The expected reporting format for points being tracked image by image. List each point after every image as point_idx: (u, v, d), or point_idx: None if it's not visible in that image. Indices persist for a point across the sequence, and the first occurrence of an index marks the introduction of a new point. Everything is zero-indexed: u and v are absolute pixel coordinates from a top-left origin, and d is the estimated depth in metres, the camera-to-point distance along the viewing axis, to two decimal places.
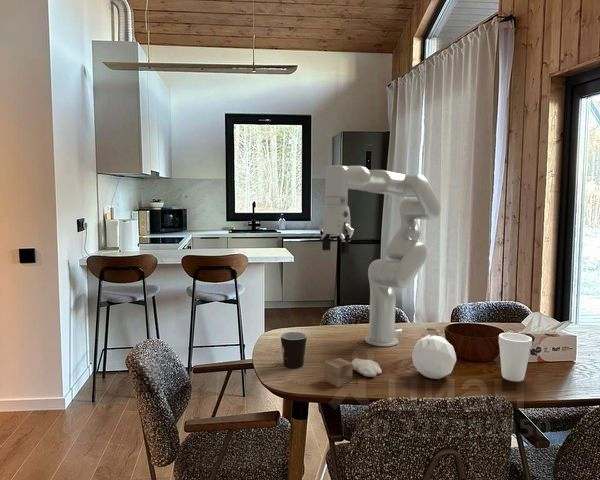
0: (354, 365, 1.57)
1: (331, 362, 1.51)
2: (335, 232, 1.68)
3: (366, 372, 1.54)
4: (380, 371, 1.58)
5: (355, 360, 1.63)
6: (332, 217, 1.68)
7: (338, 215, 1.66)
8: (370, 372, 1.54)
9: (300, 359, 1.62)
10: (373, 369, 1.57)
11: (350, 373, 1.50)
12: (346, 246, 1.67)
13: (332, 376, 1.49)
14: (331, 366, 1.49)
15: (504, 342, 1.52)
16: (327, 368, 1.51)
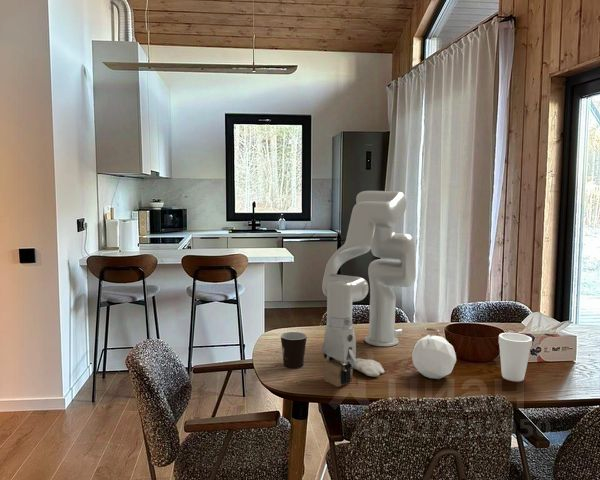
0: (357, 365, 1.57)
1: (331, 362, 1.51)
2: (338, 357, 1.47)
3: (369, 372, 1.54)
4: (383, 371, 1.58)
5: (357, 360, 1.63)
6: (335, 340, 1.48)
7: (342, 340, 1.45)
8: (373, 372, 1.54)
9: (300, 359, 1.62)
10: (376, 369, 1.57)
11: (350, 373, 1.50)
12: (347, 375, 1.48)
13: (332, 376, 1.49)
14: (331, 366, 1.49)
15: (504, 342, 1.52)
16: (327, 368, 1.51)
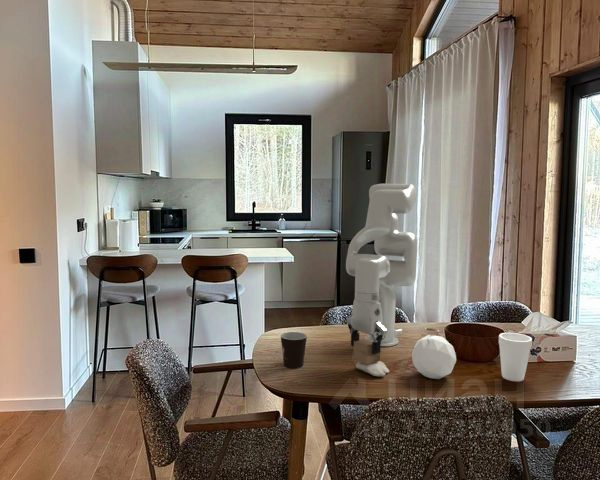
0: (362, 365, 1.57)
1: (360, 341, 1.60)
2: (366, 330, 1.56)
3: (375, 372, 1.54)
4: (388, 370, 1.59)
5: None
6: (362, 314, 1.56)
7: (370, 314, 1.54)
8: (379, 372, 1.54)
9: (300, 359, 1.62)
10: (381, 369, 1.57)
11: None
12: (378, 346, 1.55)
13: (361, 354, 1.58)
14: (360, 345, 1.58)
15: (505, 342, 1.52)
16: (356, 347, 1.60)
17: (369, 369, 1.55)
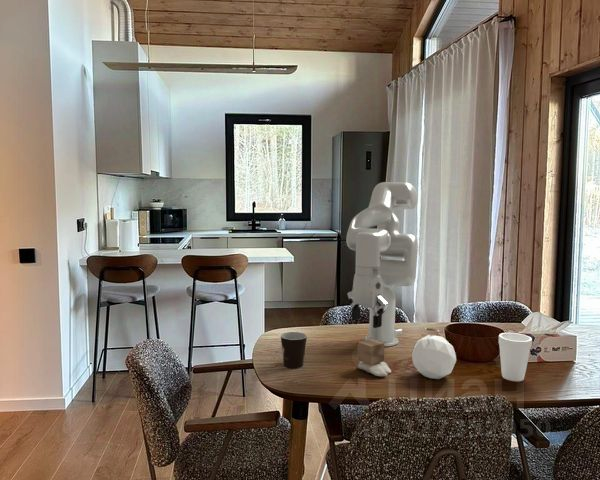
0: (364, 365, 1.57)
1: (364, 342, 1.60)
2: (367, 304, 1.56)
3: (377, 372, 1.54)
4: (390, 371, 1.59)
5: None
6: (363, 288, 1.56)
7: (371, 287, 1.54)
8: (381, 372, 1.54)
9: (300, 359, 1.62)
10: (383, 369, 1.57)
11: (382, 352, 1.59)
12: (379, 320, 1.55)
13: (365, 355, 1.58)
14: (364, 345, 1.58)
15: (504, 342, 1.52)
16: (360, 347, 1.60)
17: (371, 369, 1.55)
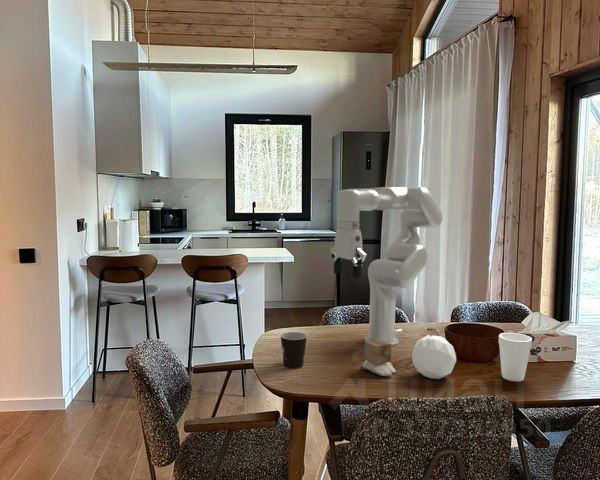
0: (369, 365, 1.58)
1: (371, 342, 1.60)
2: (347, 256, 1.69)
3: (382, 372, 1.54)
4: (394, 370, 1.59)
5: None
6: (344, 241, 1.69)
7: (351, 240, 1.67)
8: (386, 372, 1.55)
9: (300, 359, 1.62)
10: (388, 368, 1.58)
11: (389, 352, 1.59)
12: (358, 270, 1.68)
13: (372, 355, 1.58)
14: (371, 345, 1.58)
15: (504, 342, 1.52)
16: (367, 347, 1.60)
17: (376, 369, 1.55)
